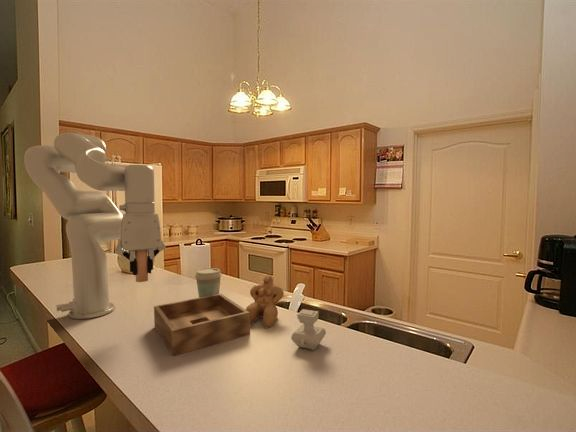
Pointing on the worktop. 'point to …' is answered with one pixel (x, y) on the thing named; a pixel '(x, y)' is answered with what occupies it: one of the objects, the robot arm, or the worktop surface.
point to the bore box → (200, 322)
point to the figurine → (265, 301)
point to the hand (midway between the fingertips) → (141, 272)
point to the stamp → (308, 330)
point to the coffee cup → (208, 281)
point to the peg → (141, 265)
